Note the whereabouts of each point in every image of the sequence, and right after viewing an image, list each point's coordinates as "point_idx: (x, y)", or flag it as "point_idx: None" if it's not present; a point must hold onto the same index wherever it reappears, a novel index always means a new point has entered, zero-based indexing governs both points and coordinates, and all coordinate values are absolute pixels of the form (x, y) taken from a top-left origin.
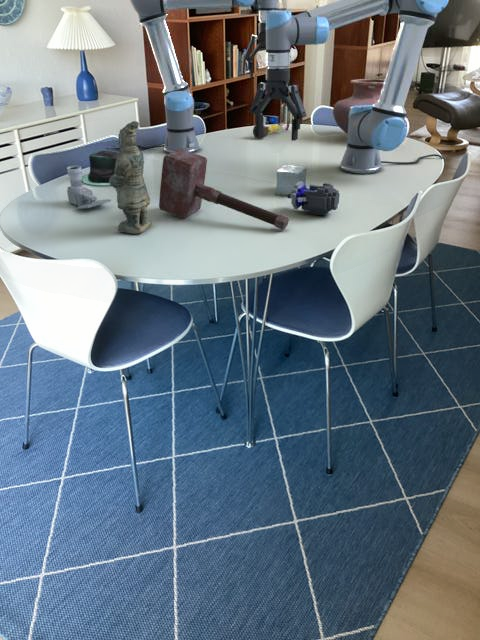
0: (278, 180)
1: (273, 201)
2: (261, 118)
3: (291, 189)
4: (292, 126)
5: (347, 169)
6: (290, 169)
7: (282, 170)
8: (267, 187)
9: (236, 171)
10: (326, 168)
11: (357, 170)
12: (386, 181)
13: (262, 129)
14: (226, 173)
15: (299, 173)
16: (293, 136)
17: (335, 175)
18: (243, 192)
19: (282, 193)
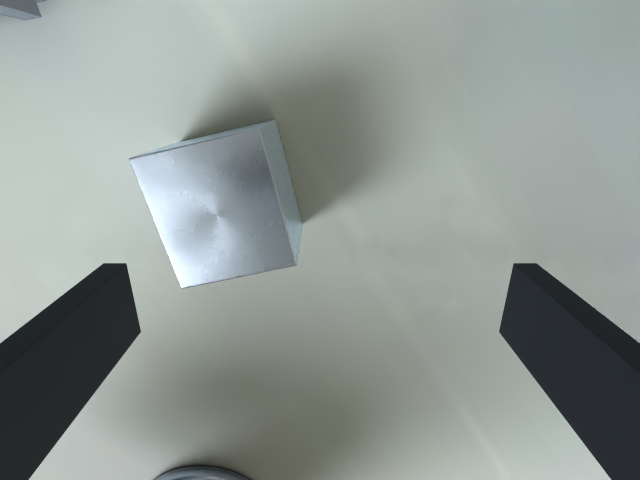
0: (256, 126)
1: (227, 20)
2: (621, 442)
3: (197, 138)
4: (15, 348)
5: (215, 476)
6: (216, 202)
7: (240, 160)
8: (368, 187)
9: (600, 303)
10: (303, 473)
11: (176, 478)
12: (60, 448)
13: (526, 352)
14: (632, 260)
15: (137, 174)
16: (79, 283)
17: (232, 428)
18: (428, 59)
19: (246, 126)
